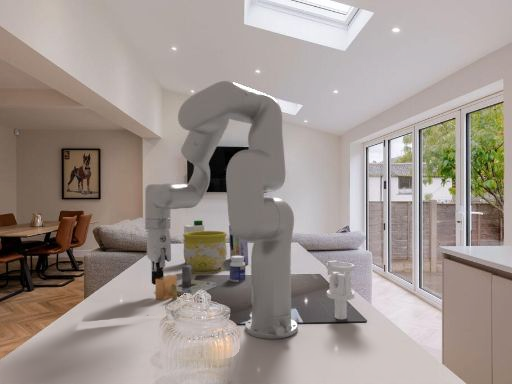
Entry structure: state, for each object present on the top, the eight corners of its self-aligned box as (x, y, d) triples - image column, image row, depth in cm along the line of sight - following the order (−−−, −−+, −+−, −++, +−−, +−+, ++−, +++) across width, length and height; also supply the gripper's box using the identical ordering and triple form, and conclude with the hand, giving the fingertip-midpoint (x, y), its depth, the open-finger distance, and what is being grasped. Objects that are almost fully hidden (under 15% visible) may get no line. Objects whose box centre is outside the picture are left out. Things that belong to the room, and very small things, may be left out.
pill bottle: (243, 286, 127) (243, 258, 127) (227, 285, 128) (227, 257, 128) (247, 282, 133) (246, 255, 133) (232, 281, 134) (231, 254, 134)
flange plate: (183, 282, 128) (182, 265, 128) (216, 286, 121) (216, 268, 121) (141, 296, 110) (141, 277, 110) (178, 302, 103) (178, 281, 103)
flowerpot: (232, 274, 145) (232, 234, 145) (188, 279, 138) (187, 236, 138) (220, 266, 162) (220, 230, 162) (180, 270, 155) (179, 232, 155)
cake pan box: (228, 258, 182) (228, 223, 182) (238, 257, 184) (238, 223, 184) (238, 265, 164) (237, 226, 164) (248, 264, 165) (248, 226, 165)
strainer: (321, 314, 96) (321, 258, 96) (344, 311, 99) (343, 257, 99) (336, 323, 90) (336, 263, 90) (360, 319, 92) (359, 261, 92)
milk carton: (206, 264, 167) (205, 221, 168) (187, 266, 164) (186, 222, 164) (200, 261, 175) (200, 220, 175) (182, 262, 172) (182, 220, 172)
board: (234, 300, 110) (234, 271, 110) (145, 309, 102) (145, 278, 102) (218, 281, 134) (217, 257, 134) (145, 287, 127) (145, 261, 127)
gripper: (178, 225, 107) (177, 287, 107) (162, 221, 119) (161, 276, 119) (153, 227, 103) (152, 291, 103) (139, 222, 115) (138, 279, 115)
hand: (157, 283), depth 111 cm, fingers closed
